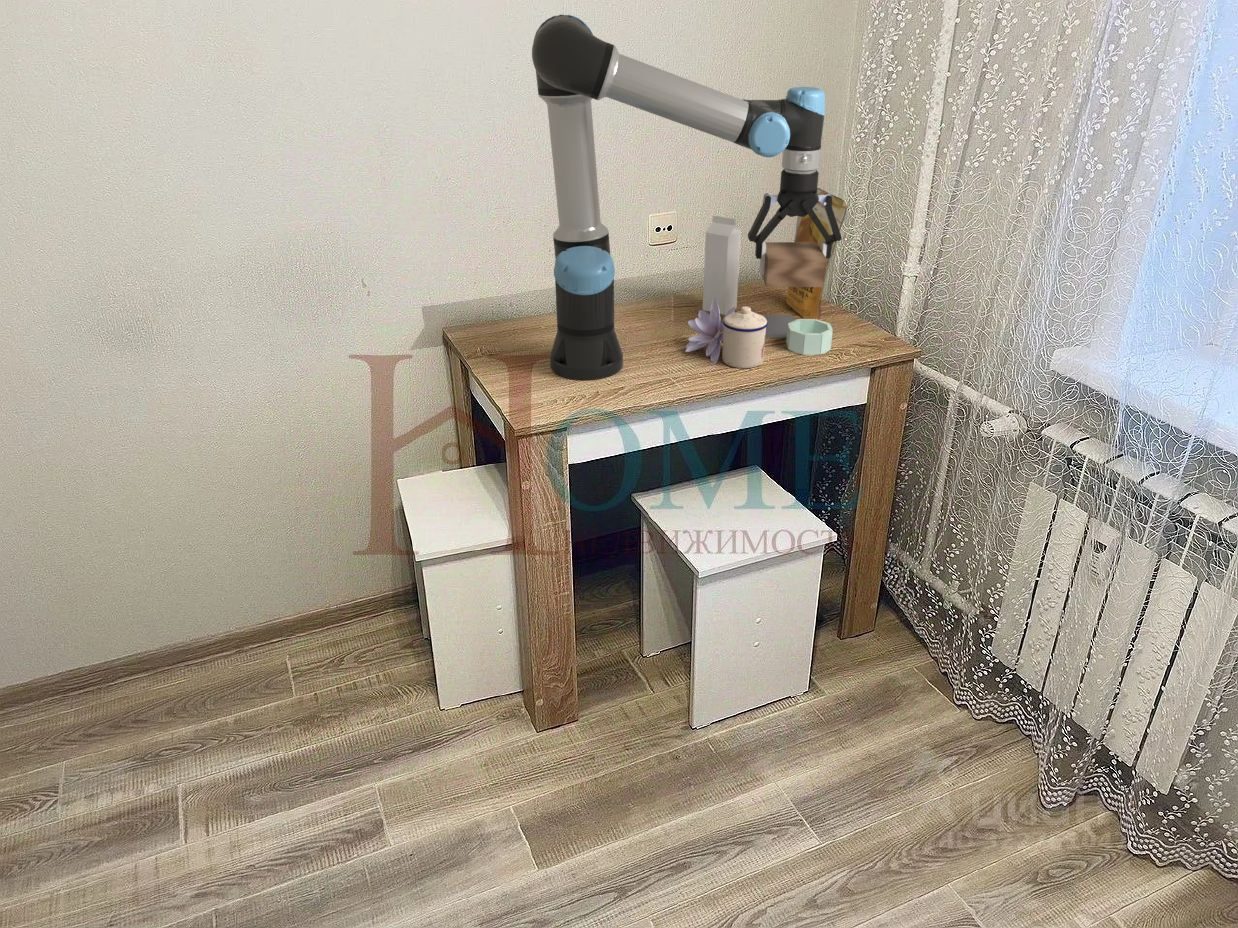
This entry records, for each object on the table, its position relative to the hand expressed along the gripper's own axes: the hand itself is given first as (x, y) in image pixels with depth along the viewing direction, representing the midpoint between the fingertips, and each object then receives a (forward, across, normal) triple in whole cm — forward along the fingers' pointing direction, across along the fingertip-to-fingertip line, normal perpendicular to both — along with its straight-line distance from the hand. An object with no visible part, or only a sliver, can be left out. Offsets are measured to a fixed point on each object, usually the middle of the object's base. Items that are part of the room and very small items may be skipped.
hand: (791, 273), depth 199 cm
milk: (+15, -13, +17) cm, 26 cm away
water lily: (+15, -18, -9) cm, 25 cm away
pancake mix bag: (+15, +7, +16) cm, 23 cm away
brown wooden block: (+1, 0, 0) cm, 1 cm away
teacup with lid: (+15, -11, -12) cm, 22 cm away
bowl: (+15, +4, -7) cm, 16 cm away
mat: (+14, -4, +6) cm, 16 cm away
